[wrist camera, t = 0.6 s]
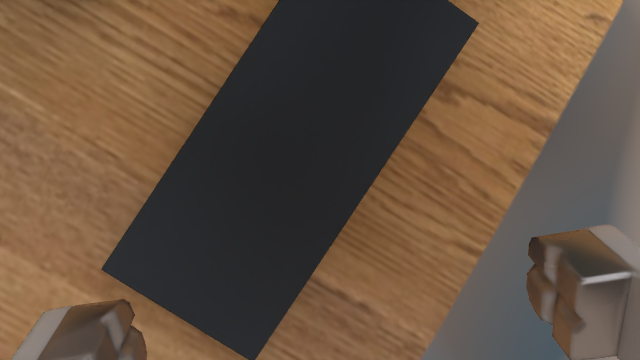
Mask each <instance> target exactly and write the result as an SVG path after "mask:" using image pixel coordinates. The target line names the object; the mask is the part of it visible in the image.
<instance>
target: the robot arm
mask: <svg viewBox="0 0 640 360" xmlns="http://www.w3.org/2000/svg"><path fill="white" fill-rule="evenodd" d="M528 251H529V252H528V256H529V257H530V258H531V259H532V261H533V262H534V263H535V264H534V265H533V267H532V268H531V269H530V270H529V272H528V273H527V291H528V295H529V299H530V302H531V304H532V307H533V309H534V310H535V312H536V314H537V315H538V317H539V318H540V319H541V320H543V321H545V322H547V323H549V324H551V325H553V332H552V336H553V338H554V339H555V340H556V341H557V343H558V344H559V346H560V347H561V348H562V350H563V351H564V353H566V355H567V357H568V358H569V359H570V360H588V359H596V358H604V357H612V356H617V358H618V359H620V360H640V246H639V245H637V244H636V243H635V242H633V241H632V240H631V239H630V238H628V237H627V236H626V235H624V234H623V233H622V232H621V231H620V230H618V229H617V228H616V227H614V226H611V225H608V224H605V225H599V226H594V227H588V228H583V229H581V230H575V231H569V232H563V233H557V234H550V235H545V236H538V237H533V238H531V241H530V243H529V250H528ZM134 316H135V314H134V312H133V310H132V307H131V305H130V303H129V302H128V301H126V300H124V299H120V300H113V301H105V302H98V303H90V304H82V305H75V306H68V307H61V308H55V309H50V310H48V311H46V312H44V313H43V314H42V315H41V317H40V318H39V320H38V321H37V323H36V324H35V325H34V327H33V328H32V330H31V331H30V333H29V334H28V335H27V337H26V338H25V340H24V341H23V343H22V344H21V346H20V347H19V348H18V350H17V351H16V353H15V354H14V356H13V357H12V358H11V360H146V359H147V351H146V345H145V341H144V338H143V335H142V332H140V331H139V330H137V329H136V328H134V327H133V326H131V323H132V321H133V319H134Z"/></svg>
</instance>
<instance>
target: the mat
mask: <svg viewBox="0 0 640 360" xmlns="http://www.w3.org/2000/svg"><path fill="white" fill-rule="evenodd" d="M477 25H478V22H477V21H475V20H474V19H473V18H471V17H470V16H468V15H467V14H466V13H464V12H463V11H462V10H460V9H459V8H457V7H456V6H455V5H453V4H452V3H451V2H449V1H448V0H279V2H278V3H277V5H276V6H275V8H274V9H273V11H272V12H271V14H270V15H269V17H268V18H267V20H266V21H265V23H264V24H263V26H262V27H261V29H260V30H259V32H258V33H257V35H256V36H255V38H254V39H253V41H252V42H251V44H250V45H249V47H248V49H247V50H246V52H245V53H244V55H243V56H242V58H241V59H240V61H239V62H238V64H237V65H236V67H235V68H234V70H233V71H232V73H231V74H230V76H229V77H228V79H227V80H226V82H225V83H224V85H223V86H222V88H221V89H220V91H219V92H218V94H217V95H216V97H215V98H214V100H213V101H212V103H211V104H210V106H209V107H208V109H207V110H206V112H205V113H204V115H203V117H202V118H201V120H200V121H199V123H198V124H197V126H196V127H195V129H194V130H193V132H192V133H191V135H190V136H189V138H188V139H187V141H186V142H185V144H184V145H183V147H182V148H181V150H180V151H179V153H178V154H177V156H176V157H175V159H174V160H173V162H172V163H171V165H170V166H169V168H168V169H167V171H166V172H165V174H164V175H163V177H162V178H161V180H160V182H159V183H158V185H157V186H156V188H155V189H154V191H153V192H152V194H151V195H150V197H149V198H148V200H147V201H146V203H145V204H144V206H143V207H142V209H141V210H140V212H139V213H138V215H137V216H136V218H135V219H134V221H133V222H132V224H131V225H130V227H129V228H128V230H127V231H126V233H125V234H124V236H123V237H122V239H121V240H120V242H119V243H118V245H117V246H116V248H115V250H114V251H113V253H112V254H111V256H110V257H109V259H108V260H107V262H106V263H105V265H104V266H103V268H102V270H103V271H104V272H106V273H108V274H109V275H111V276H113V277H114V278H116V279H117V280H119V281H121V282H122V283H124V284H126V285H127V286H129V287H131V288H132V289H134V290H136V291H137V292H139V293H140V294H142V295H144V296H145V297H147V298H149V299H150V300H152V301H154V302H155V303H157V304H158V305H160V306H162V307H163V308H165V309H167V310H168V311H170V312H172V313H173V314H175V315H177V316H178V317H180V318H181V319H183V320H185V321H186V322H188V323H190V324H191V325H193V326H195V327H196V328H198V329H199V330H201V331H203V332H204V333H206V334H208V335H209V336H211V337H213V338H214V339H216V340H217V341H219V342H221V343H222V344H224V345H226V346H227V347H229V348H231V349H232V350H234V351H236V352H237V353H239V354H240V355H242V356H244V357H245V358H247V359H249V360H255V359H256V357H257V356H258V354H259V353H260V351H261V350H262V348H263V347H264V345H265V344H266V342H267V341H268V339H269V338H270V336H271V335H272V333H273V332H274V330H275V329H276V327H277V326H278V324H279V323H280V321H281V320H282V318H283V317H284V315H285V314H286V312H287V311H288V309H289V308H290V306H291V305H292V303H293V302H294V300H295V299H296V297H297V296H298V294H299V293H300V291H301V290H302V288H303V287H304V285H305V284H306V282H307V281H308V279H309V278H310V276H311V275H312V273H313V272H314V270H315V269H316V267H317V266H318V264H319V263H320V261H321V260H322V258H323V257H324V255H325V254H326V252H327V251H328V249H329V248H330V246H331V245H332V243H333V242H334V240H335V239H336V237H337V236H338V234H339V233H340V231H341V230H342V228H343V227H344V225H345V224H346V222H347V221H348V219H349V218H350V216H351V215H352V213H353V211H354V210H355V208H356V207H357V205H358V204H359V202H360V201H361V199H362V198H363V196H364V195H365V193H366V192H367V190H368V189H369V187H370V186H371V184H372V183H373V181H374V180H375V178H376V177H377V175H378V174H379V172H380V171H381V169H382V168H383V166H384V165H385V163H386V162H387V160H388V159H389V157H390V156H391V154H392V153H393V151H394V150H395V148H396V147H397V145H398V144H399V142H400V141H401V139H402V138H403V136H404V135H405V133H406V132H407V130H408V129H409V127H410V126H411V124H412V123H413V121H414V120H415V118H416V117H417V115H418V114H419V112H420V111H421V109H422V108H423V106H424V105H425V103H426V102H427V100H428V99H429V97H430V96H431V94H432V93H433V91H434V90H435V88H436V87H437V85H438V84H439V82H440V81H441V79H442V78H443V76H444V75H445V73H446V72H447V70H448V69H449V67H450V66H451V64H452V63H453V61H454V60H455V58H456V57H457V55H458V54H459V52H460V51H461V49H462V48H463V46H464V45H465V43H466V42H467V40H468V39H469V37H470V36H471V34H472V33H473V31H474V30H475V28H476V27H477Z"/></svg>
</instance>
